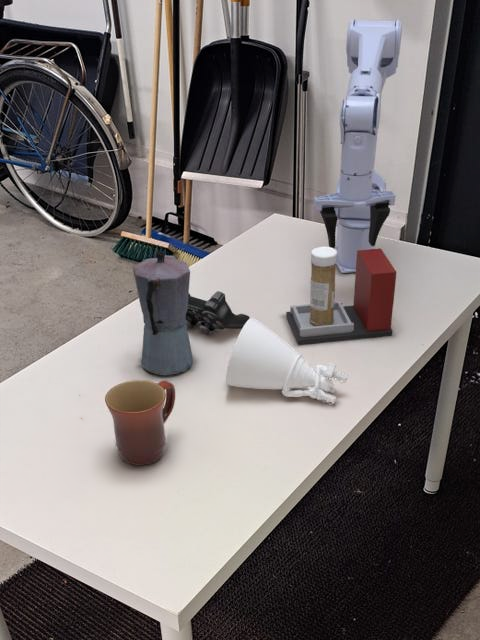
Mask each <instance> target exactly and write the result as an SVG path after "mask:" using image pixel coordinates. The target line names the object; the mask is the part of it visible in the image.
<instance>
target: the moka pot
mask: <svg viewBox="0 0 480 640" xmlns="http://www.w3.org/2000/svg"><path fill="white" fill-rule="evenodd" d="M155 255H156V257H152V258H146V259H144V260H142V261H140V262H137V263H136V264H135V265H133V266H132V272H133V276H134V281H135V286H136V290H137V295H138V300H139V306H140V309H141V313H142V318H143V319H142V321H143V324H144V325H143V334H142V335H143V336H142V350H141V351H142V352H141V366H142V368H143V369H144V370H145V371H147V372H148V373H151V374H154V375H158V376H171V375H176V374H180V373H182V372H183V373H184V372H185V371H187V370H189V369H190V368H191V367H192V365H193V361H194V359H193V353H192V346H191V342H190V335H189V331H188V328H187V324H186V322H185V321H186V313H187V309H188V294H190V292H189V291H190V283H191V282H190V280H191V270H190V267H189V265H188V263H187V261H185V260H181V259H177V258H176V257H175V255H167V254H166V251H163V250H157V251H156V252H155Z"/></svg>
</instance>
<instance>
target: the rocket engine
mask: <svg viewBox="0 0 480 640" xmlns="http://www.w3.org/2000/svg"><path fill="white" fill-rule="evenodd" d="M227 364H228V365H227V369H226V374H225V383H226V385H227V386H231V387H237V388H244V389H255V390H256V389H257V390H281V393H282V395H283V396H284V397H287V398H301V397H306V396H307V397H310V398H311V399H316V400H318V401H322V402H323V403H328V405H331V406H332V405H334V404H335V402H336V399H337V396H335V395H334V394H333V393H335V391H336V389H335V384H334V381H335V382H337V381H338V382H339V383H340V384H345V383H346V382H347V380H348V379H349V378H348V377H349V375H348V374H345V373H343V372H340V371H337V370H336V368H337V364H336V363H334V362H331V361H330V362H329V363H328V365H327V366H325V364H316V365H315V366H314V368H313V367H312V366H311V364H309V362H307V361H306V359H305V358H304V357H303V354H302V353H299V352H298V351H296V350H295V349H294V348H293V346H291V345H290V344H289V343H288V342H287V341H285V340H284V339H283V338H282V337H280V335H278V334H277V333H276V332H274V331H273V330H272V329H271V328H269V327H267V326H266V325H265V324H263V323H261V321H259V320H257V319H255V318H253V317H250V319H249V320H248V321H247V322H246V323H245V325H244V326H243V328H242V329H241V330H240V332H239V334H238V336H237V338H236V340H235V343H234V346H233V347H232V351H231V353H230V358H229V360H228V363H227ZM333 380H334V381H333ZM304 388H307V390H306V389H305V390H302V389H304ZM308 388H309V389H308ZM292 389H293V390H292ZM328 392H330V393H328Z"/></svg>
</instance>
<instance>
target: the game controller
mask: <svg viewBox="0 0 480 640" xmlns="http://www.w3.org/2000/svg"><path fill="white" fill-rule="evenodd" d="M250 318H251V316H250V315H247V314H244V313H239V314H235V313H233V311H232V309H231V307H230V305H229V304H228V301H227V300H226V294H225V293H223V291H218V290H217V291H215V292H214V293H213V294H212V295H211V296H210V298H209V299H208V300H205V299H201V298H199V297H195V296H193V295H191V294H190V293H189V294H188V309H187V313H186V321H185V322H186V324H187V329H188V330H189V329H190V330H191V329H192V328H193V327H196V326H198V324H200V325H199V330H200V332H201V333H203V334H205V335H210V334H211V333H213V332H215V331H216V330H218V331H224V330H240V329H241V330H242V328H243V326H244V325H245V323H246V322H247V321H248V320H249V319H250Z"/></svg>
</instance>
